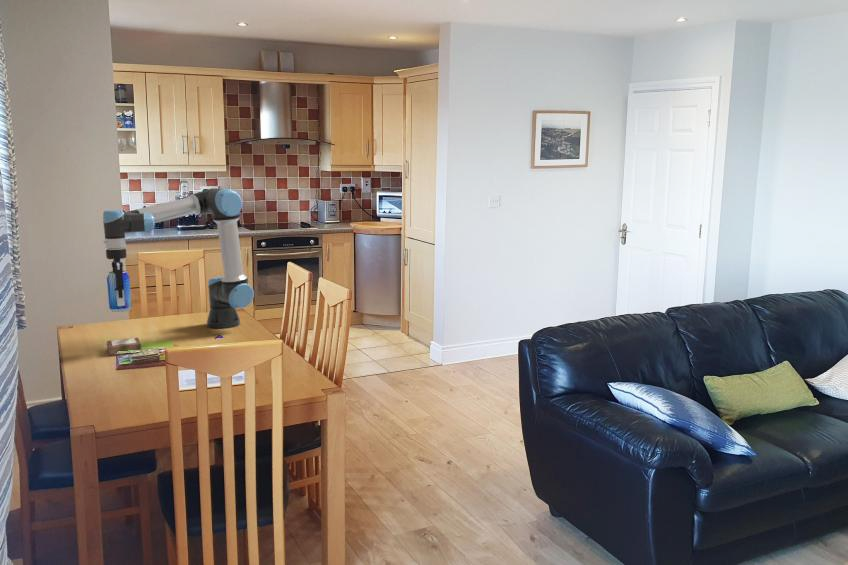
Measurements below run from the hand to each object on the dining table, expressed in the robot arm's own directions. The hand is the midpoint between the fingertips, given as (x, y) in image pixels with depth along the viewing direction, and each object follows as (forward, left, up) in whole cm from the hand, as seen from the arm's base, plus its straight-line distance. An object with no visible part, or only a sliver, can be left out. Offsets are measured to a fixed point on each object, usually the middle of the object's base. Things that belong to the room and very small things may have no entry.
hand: (120, 303), depth 295 cm
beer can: (0, 0, -3) cm, 3 cm away
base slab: (0, 0, -20) cm, 20 cm away
